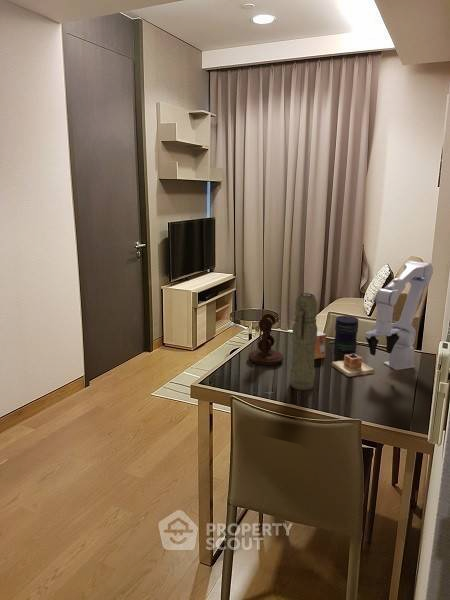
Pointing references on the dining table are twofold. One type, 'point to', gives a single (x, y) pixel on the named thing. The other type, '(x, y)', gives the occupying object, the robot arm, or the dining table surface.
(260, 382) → the dining table surface
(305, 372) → the grey-green tall column
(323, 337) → the small box
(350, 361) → the bead
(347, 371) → the lacing board
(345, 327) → the storage jar
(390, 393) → the dining table surface
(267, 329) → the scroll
